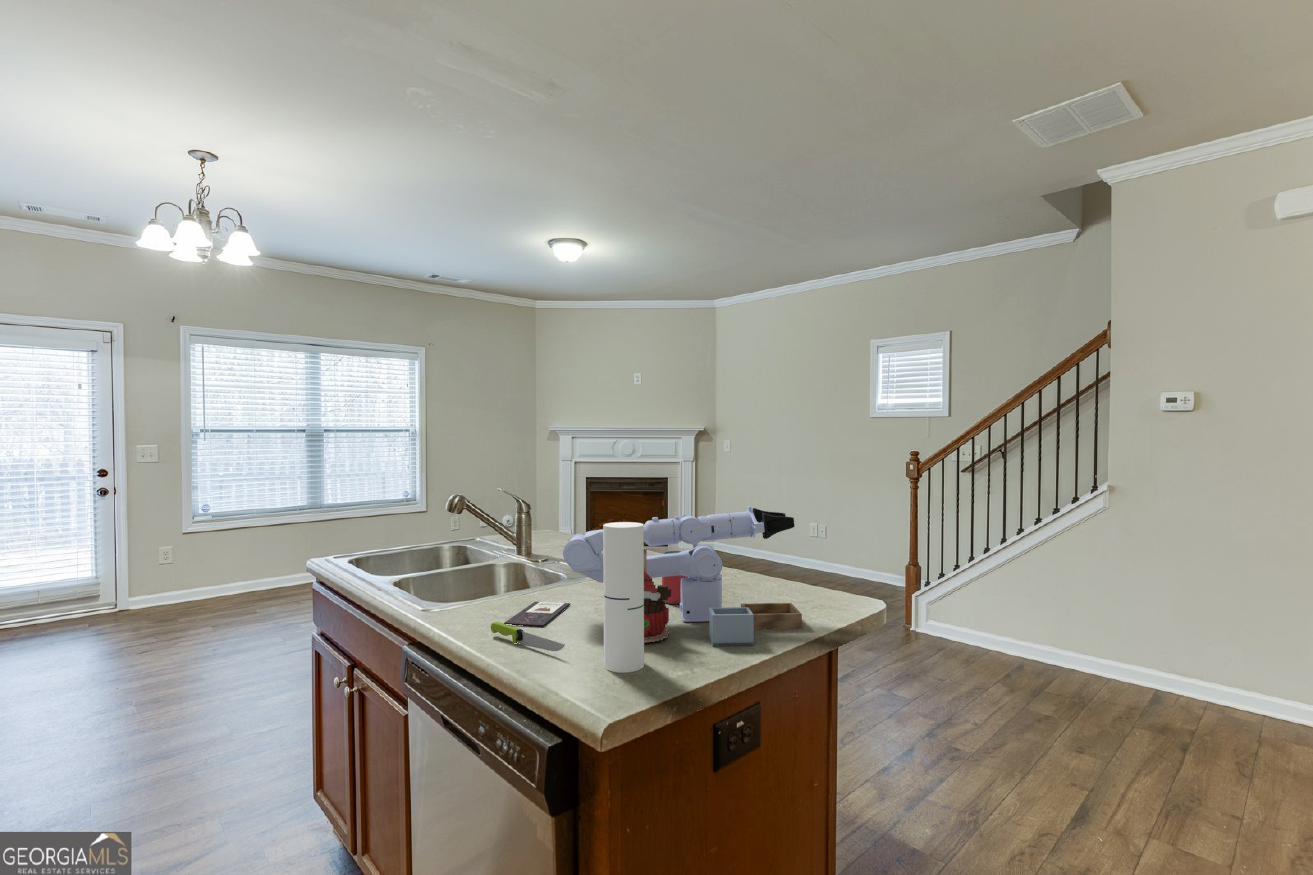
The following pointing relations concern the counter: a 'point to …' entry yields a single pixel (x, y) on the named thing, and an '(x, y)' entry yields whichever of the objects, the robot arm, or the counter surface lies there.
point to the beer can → (673, 585)
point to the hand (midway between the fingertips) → (789, 520)
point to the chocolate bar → (537, 614)
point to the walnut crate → (775, 615)
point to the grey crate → (731, 626)
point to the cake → (654, 608)
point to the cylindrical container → (623, 596)
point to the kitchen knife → (525, 637)
